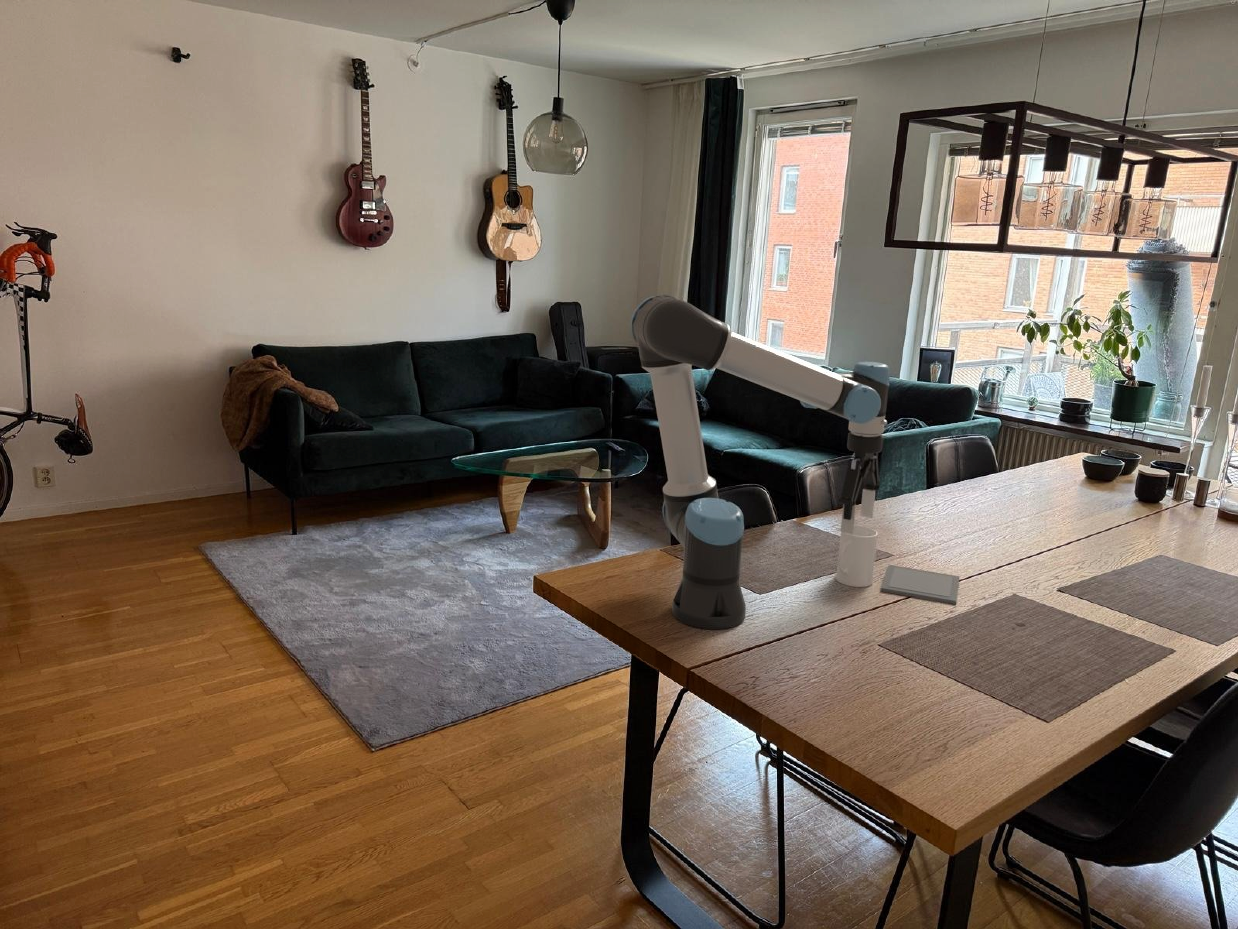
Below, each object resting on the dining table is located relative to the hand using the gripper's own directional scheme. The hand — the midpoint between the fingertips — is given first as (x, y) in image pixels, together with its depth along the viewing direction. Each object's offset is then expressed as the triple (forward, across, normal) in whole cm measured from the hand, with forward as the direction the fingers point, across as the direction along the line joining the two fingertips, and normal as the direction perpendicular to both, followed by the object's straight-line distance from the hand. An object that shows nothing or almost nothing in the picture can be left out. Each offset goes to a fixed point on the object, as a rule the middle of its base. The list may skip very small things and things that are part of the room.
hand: (857, 524), depth 200 cm
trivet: (+14, +8, -14) cm, 21 cm away
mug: (+14, 0, 0) cm, 14 cm away
